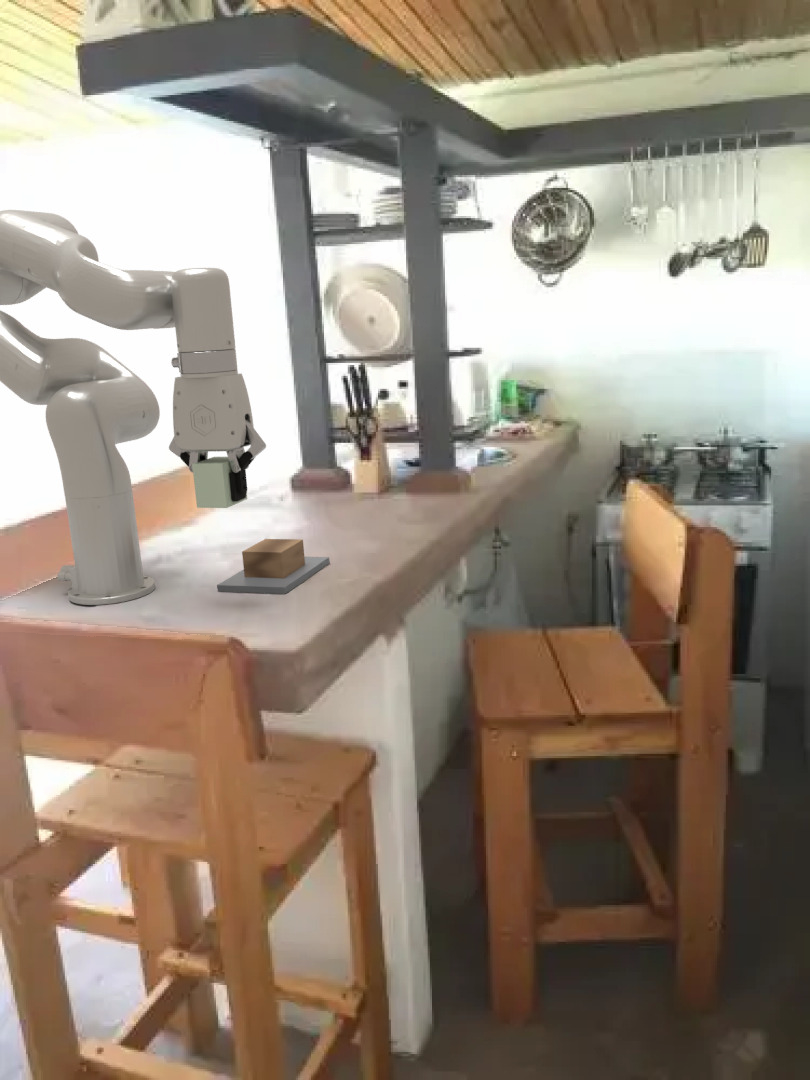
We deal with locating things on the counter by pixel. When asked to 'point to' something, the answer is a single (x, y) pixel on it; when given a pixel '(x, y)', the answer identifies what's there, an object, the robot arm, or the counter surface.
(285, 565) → the walnut base block
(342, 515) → the counter surface
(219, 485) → the sage block
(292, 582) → the slate baseplate
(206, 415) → the robot arm
